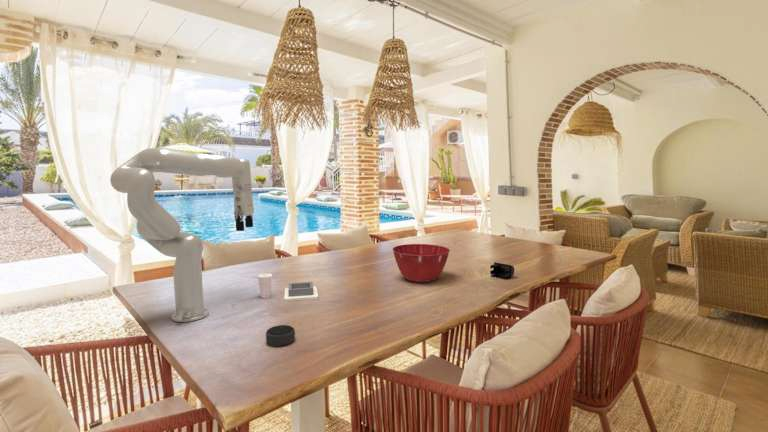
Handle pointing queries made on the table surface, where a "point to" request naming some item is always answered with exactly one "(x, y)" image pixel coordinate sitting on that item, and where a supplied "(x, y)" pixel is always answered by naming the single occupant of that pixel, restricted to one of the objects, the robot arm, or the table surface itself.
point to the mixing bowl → (420, 261)
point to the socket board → (300, 291)
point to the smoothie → (265, 284)
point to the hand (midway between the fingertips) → (245, 228)
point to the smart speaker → (280, 335)
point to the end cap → (502, 271)
